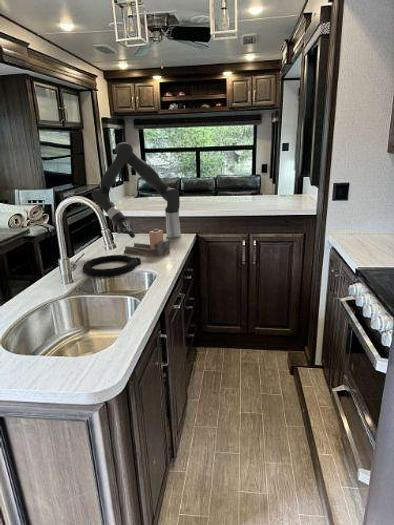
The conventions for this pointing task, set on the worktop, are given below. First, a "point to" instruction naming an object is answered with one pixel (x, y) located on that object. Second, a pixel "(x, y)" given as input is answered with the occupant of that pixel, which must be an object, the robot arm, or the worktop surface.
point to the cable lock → (113, 271)
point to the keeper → (155, 237)
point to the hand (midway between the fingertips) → (133, 236)
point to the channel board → (145, 249)
